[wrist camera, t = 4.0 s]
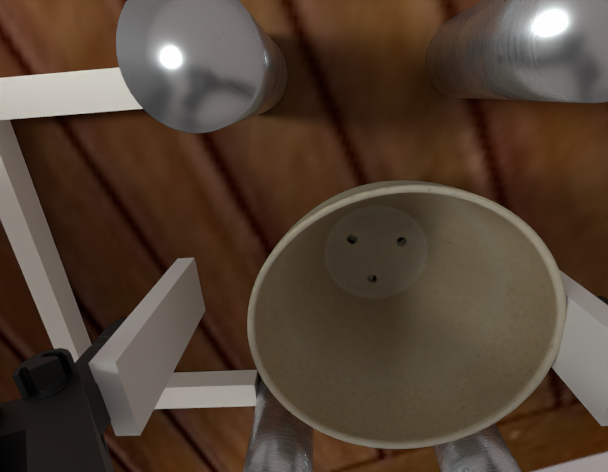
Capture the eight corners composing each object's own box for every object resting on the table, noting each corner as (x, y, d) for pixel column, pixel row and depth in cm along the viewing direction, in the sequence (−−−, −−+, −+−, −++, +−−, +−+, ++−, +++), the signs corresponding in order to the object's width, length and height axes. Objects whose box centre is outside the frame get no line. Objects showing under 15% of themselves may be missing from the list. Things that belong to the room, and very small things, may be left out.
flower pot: (515, 263, 18) (625, 365, 11) (354, 358, 21) (366, 484, 14) (401, 99, 15) (457, 105, 9) (235, 233, 18) (183, 314, 12)
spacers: (264, 402, 22) (238, 557, 15) (207, 35, 15) (98, -22, 7) (619, 391, 21) (784, 554, 14) (754, -15, 14) (1284, -144, 6)
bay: (91, 395, 22) (80, 411, 21) (-30, 83, 16) (-56, 82, 15) (260, 389, 22) (257, 405, 21) (209, 62, 15) (200, 60, 14)
